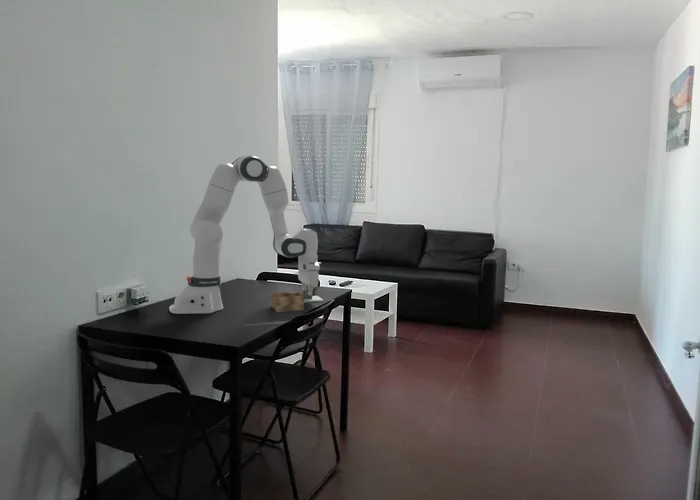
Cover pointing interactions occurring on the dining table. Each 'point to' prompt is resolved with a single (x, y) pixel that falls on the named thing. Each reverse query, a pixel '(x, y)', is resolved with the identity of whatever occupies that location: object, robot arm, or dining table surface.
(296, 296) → the box
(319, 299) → the lid
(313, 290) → the potato
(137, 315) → the dining table surface
